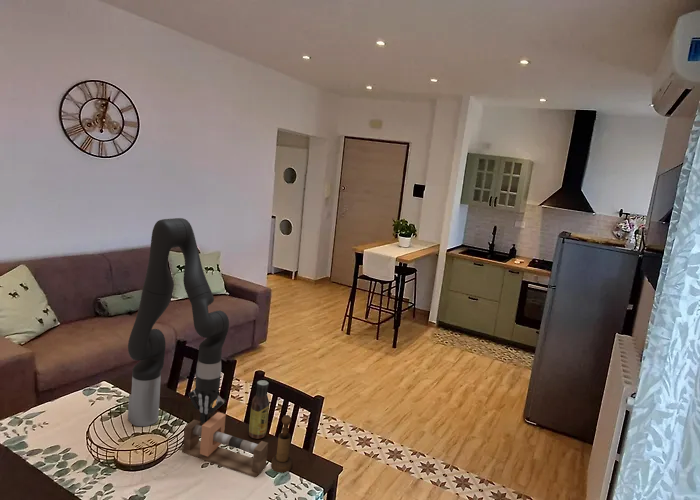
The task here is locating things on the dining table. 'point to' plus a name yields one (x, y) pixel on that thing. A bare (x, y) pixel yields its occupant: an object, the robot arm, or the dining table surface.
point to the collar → (211, 433)
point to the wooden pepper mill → (283, 449)
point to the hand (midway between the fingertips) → (204, 422)
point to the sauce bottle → (259, 411)
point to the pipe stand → (227, 451)
